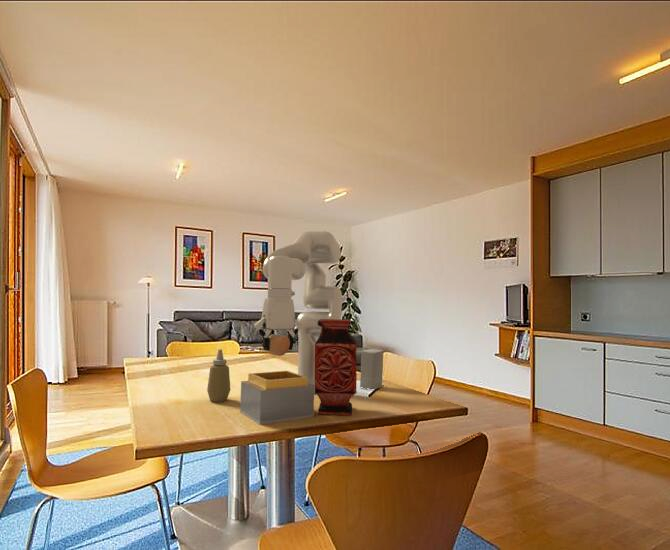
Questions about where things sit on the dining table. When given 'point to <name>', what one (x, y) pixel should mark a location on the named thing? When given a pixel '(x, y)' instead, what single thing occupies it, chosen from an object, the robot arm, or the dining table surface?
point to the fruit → (278, 344)
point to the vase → (335, 367)
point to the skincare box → (371, 368)
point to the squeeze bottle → (219, 379)
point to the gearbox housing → (276, 397)
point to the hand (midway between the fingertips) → (277, 349)
